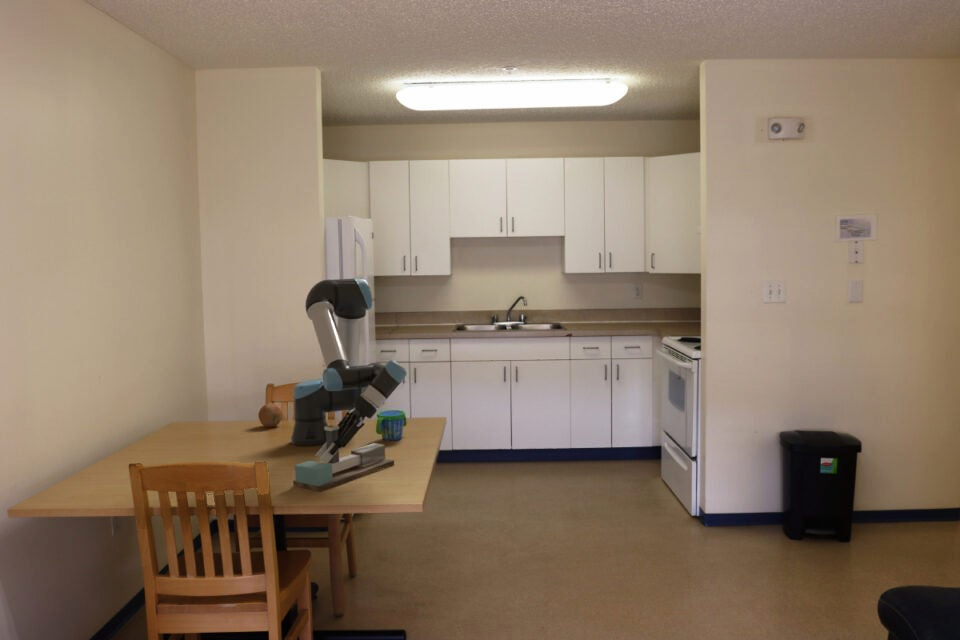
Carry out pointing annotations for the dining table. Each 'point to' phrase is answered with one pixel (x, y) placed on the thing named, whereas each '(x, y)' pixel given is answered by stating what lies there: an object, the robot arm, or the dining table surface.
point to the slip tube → (335, 461)
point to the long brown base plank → (356, 467)
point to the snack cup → (391, 424)
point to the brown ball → (270, 415)
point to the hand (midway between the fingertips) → (320, 459)
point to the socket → (313, 473)
